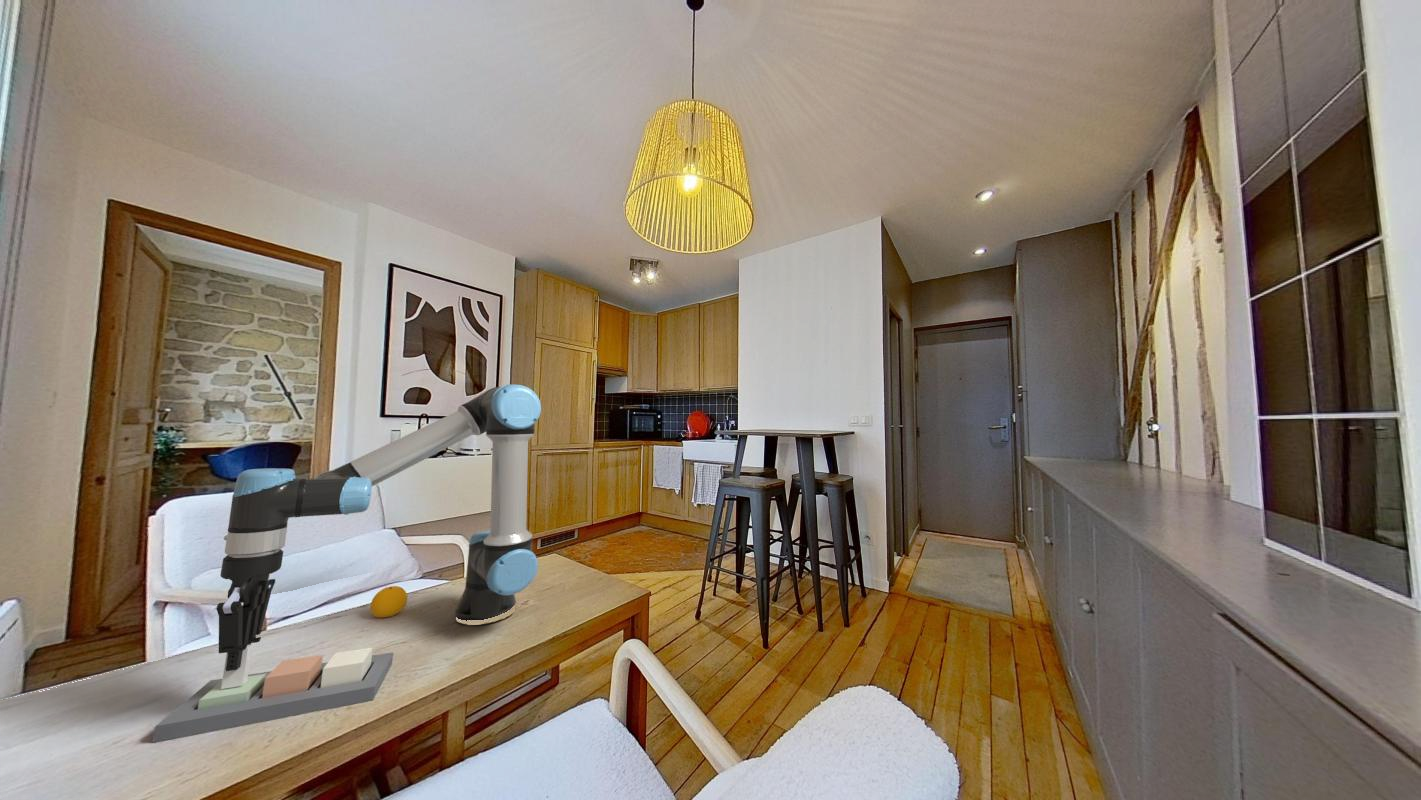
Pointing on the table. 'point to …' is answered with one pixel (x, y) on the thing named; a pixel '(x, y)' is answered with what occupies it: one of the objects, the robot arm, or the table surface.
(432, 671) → the table surface
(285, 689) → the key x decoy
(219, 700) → the key
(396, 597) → the yellow lemon
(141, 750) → the table surface
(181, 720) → the keypad board
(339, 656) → the cream square block
